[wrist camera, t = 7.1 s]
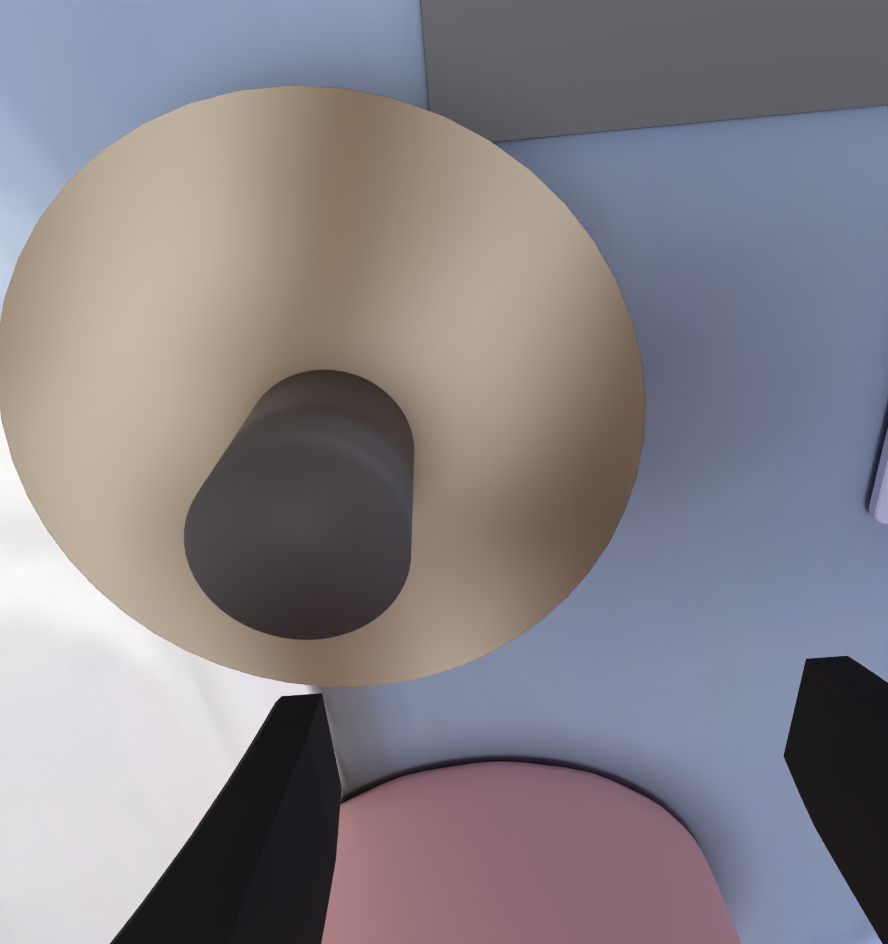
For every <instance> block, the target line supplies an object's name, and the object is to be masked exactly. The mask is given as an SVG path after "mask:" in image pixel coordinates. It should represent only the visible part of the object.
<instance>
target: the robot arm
mask: <svg viewBox="0 0 888 944" xmlns="http://www.w3.org/2000/svg"><path fill="white" fill-rule="evenodd" d="M869 513H870V515H871V516H872V517H873V518H874V519H875V520H876V521H878V522H880V523H881V524H888V429H887V433H886V437H885V441H884V445H883V450H882V454H881V458H880V462H879V467H878V471H877V475H876V479H875V483H874V488H873V492H872V496H871V500H870V505H869ZM784 758H785V761H786V763H787V765H788V768H789V770H790V772H791V775H792V777H793V779H794V782H795V784H796V787H797V789H798V791H799V794H800V796H801V798H802V800H803V802H804V805H805V807H806V809H807V811H808V813H809V815H810V818H811V820H812V822H813V824H814V826H815V828H816V830H817V832H818V833H819V835H820V837H821V839H822V841H823V842H824V844H825V846H826V848H827V849H828V851H829V853H830V854H831V856H832V858H833V860H834V861H835V863H836V865H837V867H838V868H839V870H840V872H841V873H842V875H843V877H844V879H845V880H846V882H847V884H848V886H849V887H850V889H851V891H852V892H853V894H854V896H855V897H856V899H857V901H858V903H859V904H860V906H861V908H862V909H863V911H864V913H865V914H866V916H867V918H868V920H869V921H870V923H871V925H872V926H873V928H874V930H875V931H876V933H877V935H878V937H879V938H880V940H881V942H882V943H883V944H888V683H887V682H886V681H884V680H883V679H881V678H880V677H879V676H877V675H876V674H874V673H873V672H871V671H870V670H868V669H867V668H865V667H864V666H862V665H861V664H859V663H858V662H856V661H855V660H853V659H852V658H850V657H848V656H839V657H825V658H811V659H806V661H805V666H804V670H803V674H802V679H801V683H800V687H799V692H798V696H797V700H796V705H795V709H794V713H793V718H792V722H791V726H790V731H789V735H788V739H787V744H786V748H785V752H784ZM340 800H341V783H340V778H339V773H338V769H337V764H336V759H335V754H334V749H333V744H332V739H331V735H330V730H329V725H328V720H327V715H326V710H325V706H324V701H323V696H322V693H321V694H307V695H293V696H281V697H280V698H279V699H278V700H277V701H276V702H275V704H274V706H273V708H272V709H271V711H270V713H269V714H268V716H267V718H266V720H265V721H264V723H263V725H262V726H261V728H260V730H259V731H258V733H257V735H256V736H255V738H254V740H253V741H252V743H251V745H250V746H249V748H248V749H247V751H246V753H245V754H244V756H243V757H242V759H241V761H240V762H239V764H238V765H237V767H236V769H235V770H234V772H233V773H232V775H231V776H230V778H229V780H228V781H227V783H226V784H225V786H224V787H223V789H222V790H221V792H220V793H219V795H218V796H217V798H216V799H215V801H214V802H213V804H212V805H211V807H210V808H209V810H208V811H207V813H206V814H205V816H204V817H203V819H202V820H201V822H200V823H199V825H198V826H197V828H196V829H195V830H194V832H193V833H192V835H191V836H190V838H189V839H188V841H187V842H186V843H185V845H184V846H183V848H182V849H181V850H180V852H179V853H178V854H177V856H176V857H175V858H174V860H173V861H172V863H171V864H170V865H169V867H168V868H167V869H166V871H165V872H164V873H163V875H162V876H161V878H160V879H159V880H158V882H157V883H156V884H155V886H154V887H153V888H152V890H151V891H150V893H149V894H148V895H147V897H146V898H145V899H144V901H143V902H142V903H141V905H140V906H139V907H138V909H137V910H136V911H135V912H134V914H133V915H132V916H131V918H130V919H129V920H128V921H127V923H126V924H125V925H124V927H123V928H122V929H121V930H120V932H119V933H118V934H117V935H116V937H115V938H114V939H113V940H112V942H111V943H110V944H321V943H322V937H323V932H324V926H325V921H326V915H327V909H328V903H329V898H330V892H331V886H332V880H333V874H334V869H335V863H336V853H337V841H338V829H339V814H340Z"/></svg>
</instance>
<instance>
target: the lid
mask: <svg viewBox="0 0 888 944" xmlns="http://www.w3.org/2000/svg"><path fill="white" fill-rule="evenodd" d="M0 411H1V419H2V424H3V428H4V432H5V435H6V439H7V442H8V446H9V450H10V453H11V457H12V461H13V463H14V465H15V468H16V470H17V472H18V475H19V477H20V480H21V482H22V484H23V487H24V489H25V491H26V494H27V496H28V498H29V500H30V501H31V503H32V505H33V507H34V508H35V510H36V512H37V514H38V515H39V517H40V519H41V520H42V522H43V524H44V526H45V527H46V529H47V531H48V532H49V533H50V535H51V536H52V537H53V539H54V540H55V541H56V543H57V544H58V545H59V547H60V548H61V549H62V551H63V552H64V553H65V555H66V556H67V557H68V559H69V560H70V561H71V562H72V563H73V565H74V566H75V567H76V568H77V569H78V570H79V571H80V572H81V573H82V574H83V575H84V576H85V577H86V578H87V579H88V580H89V581H90V583H91V584H92V585H93V586H94V587H95V588H96V589H97V590H98V591H100V592H101V593H102V594H103V595H104V596H105V597H107V598H108V599H109V600H110V601H111V602H113V603H114V604H115V605H116V606H117V607H118V608H120V609H121V610H122V611H123V612H124V613H126V614H127V615H129V616H130V617H131V618H133V619H134V620H136V621H137V622H139V623H140V624H142V625H143V626H145V627H146V628H147V629H149V630H150V631H152V632H153V633H155V634H157V635H158V636H160V637H162V638H164V639H166V640H168V641H169V642H171V643H173V644H175V645H177V646H179V647H180V648H182V649H184V650H186V651H188V652H190V653H193V654H195V655H197V656H200V657H202V658H205V659H207V660H209V661H212V662H214V663H216V664H219V665H222V666H225V667H228V668H231V669H234V670H238V671H241V672H244V673H247V674H250V675H254V676H258V677H263V678H268V679H273V680H278V681H282V682H287V683H296V684H305V685H314V686H336V687H359V686H370V685H382V684H391V683H397V682H402V681H407V680H412V679H418V678H423V677H426V676H430V675H433V674H436V673H440V672H443V671H446V670H450V669H453V668H456V667H458V666H461V665H463V664H466V663H468V662H470V661H473V660H475V659H478V658H480V657H482V656H485V655H487V654H489V653H490V652H492V651H494V650H496V649H498V648H500V647H501V646H503V645H505V644H507V643H509V642H510V641H512V640H514V639H516V638H517V637H518V636H520V635H521V634H523V633H524V632H526V631H527V630H528V629H530V628H531V627H533V626H534V625H535V624H537V623H538V622H540V621H541V620H542V619H544V618H545V617H546V616H547V615H548V614H549V613H550V612H551V611H552V610H554V609H555V608H556V607H557V606H558V605H559V604H560V603H561V602H562V601H564V600H565V599H566V598H567V597H568V596H569V595H570V593H571V592H572V591H573V590H574V589H575V588H576V587H577V585H578V584H579V583H580V582H581V581H582V580H583V579H584V577H585V576H586V575H587V574H588V573H589V572H590V570H591V569H592V567H593V566H594V564H595V563H596V561H597V560H598V558H599V557H600V555H601V554H602V552H603V551H604V549H605V548H606V546H607V545H608V543H609V542H610V540H611V538H612V536H613V534H614V532H615V530H616V528H617V525H618V523H619V521H620V519H621V517H622V515H623V513H624V511H625V509H626V506H627V503H628V500H629V497H630V494H631V491H632V488H633V485H634V482H635V479H636V476H637V471H638V465H639V460H640V455H641V450H642V445H643V437H644V419H645V392H644V381H643V369H642V361H641V357H640V352H639V348H638V344H637V339H636V335H635V331H634V327H633V322H632V320H631V317H630V315H629V312H628V309H627V307H626V304H625V302H624V299H623V297H622V294H621V291H620V289H619V286H618V284H617V281H616V280H615V278H614V276H613V274H612V272H611V271H610V269H609V267H608V265H607V264H606V262H605V260H604V258H603V256H602V255H601V253H600V251H599V249H598V248H597V246H596V244H595V242H594V241H593V240H592V238H591V237H590V236H589V234H588V233H587V232H586V231H585V229H584V228H583V227H582V225H581V224H580V223H579V221H578V220H577V219H576V218H575V216H574V215H573V214H572V212H571V211H570V210H569V208H568V207H567V206H566V205H565V204H564V203H563V202H562V201H561V200H560V199H559V198H558V197H557V196H556V195H555V194H554V193H553V192H552V191H551V190H550V189H549V188H548V187H547V186H546V185H545V184H544V183H543V182H542V181H541V180H540V179H539V178H538V177H537V176H536V175H535V174H534V173H533V172H532V171H530V170H529V169H528V168H526V167H525V166H524V165H522V164H521V163H520V162H518V161H517V160H515V159H514V158H513V157H511V156H510V155H509V154H507V153H506V152H505V151H503V150H502V149H500V148H499V147H498V146H496V145H495V144H494V143H492V142H491V141H489V140H487V139H485V138H484V137H482V136H480V135H478V134H476V133H474V132H472V131H470V130H469V129H467V128H465V127H463V126H461V125H459V124H457V123H455V122H454V121H452V120H450V119H448V118H446V117H444V116H441V115H438V114H436V113H433V112H430V111H427V110H425V109H422V108H419V107H416V106H414V105H411V104H408V103H405V102H403V101H400V100H397V99H393V98H388V97H383V96H379V95H374V94H369V93H364V92H359V91H354V90H349V89H344V88H328V87H309V86H281V87H271V88H261V89H251V90H240V91H236V92H232V93H228V94H224V95H220V96H216V97H213V98H209V99H205V100H201V101H197V102H193V103H189V104H187V105H185V106H183V107H180V108H178V109H176V110H173V111H171V112H169V113H167V114H164V115H162V116H160V117H157V118H155V119H153V120H151V121H148V122H146V123H144V124H142V125H141V126H139V127H137V128H136V129H134V130H133V131H131V132H130V133H128V134H127V135H125V136H124V137H122V138H121V139H119V140H117V141H116V142H114V143H113V144H111V145H110V146H108V147H107V148H105V149H104V150H102V151H101V152H100V153H99V154H98V155H97V156H96V157H95V158H94V159H92V160H91V161H90V162H89V163H88V164H87V165H86V166H85V167H84V168H83V169H82V170H80V171H79V172H78V173H77V174H76V175H75V176H74V177H73V178H72V179H71V180H70V181H68V183H67V184H66V185H65V186H64V188H63V189H62V190H61V192H60V193H59V194H58V195H57V197H56V198H55V199H54V201H53V202H52V203H51V204H50V206H49V207H48V208H47V209H46V211H45V212H44V213H43V215H42V216H41V217H40V219H39V220H38V222H37V224H36V226H35V228H34V230H33V232H32V233H31V235H30V237H29V239H28V241H27V243H26V245H25V246H24V248H23V250H22V252H21V254H20V256H19V258H18V261H17V264H16V266H15V269H14V272H13V275H12V278H11V281H10V284H9V287H8V290H7V293H6V296H5V299H4V304H3V310H2V316H1V322H0Z"/></svg>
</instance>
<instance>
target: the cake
mask: <svg viewBox="0 0 888 944" xmlns="http://www.w3.org/2000/svg"><path fill="white" fill-rule="evenodd" d="M321 944H741V942H740V940H739V937H738V935H737V932H736V930H735V927H734V925H733V922H732V920H731V917H730V915H729V912H728V910H727V907H726V905H725V902H724V900H723V897H722V895H721V893H720V890H719V888H718V885H717V883H716V881H715V878H714V876H713V874H712V872H711V869H710V867H709V865H708V863H707V860H706V858H705V856H704V854H703V852H702V850H701V848H700V847H699V845H698V844H697V842H696V841H695V839H694V838H693V837H692V836H691V834H690V833H689V832H688V831H687V830H686V829H685V828H684V826H683V825H682V824H680V823H679V822H678V821H677V820H676V819H675V818H674V817H673V816H672V815H670V814H669V813H668V812H667V811H666V810H665V809H664V808H663V807H661V806H660V805H658V804H657V803H655V802H654V801H652V800H650V799H649V798H647V797H645V796H643V795H641V794H639V793H637V792H635V791H633V790H631V789H629V788H627V787H625V786H623V785H621V784H619V783H617V782H614V781H612V780H610V779H607V778H605V777H602V776H599V775H596V774H594V773H591V772H586V771H581V770H576V769H572V768H565V767H558V766H550V765H542V764H533V763H524V762H505V761H494V762H482V763H471V764H465V765H458V766H451V767H445V768H439V769H433V770H427V771H422V772H418V773H414V774H410V775H405V776H402V777H399V778H396V779H394V780H391V781H389V782H386V783H383V784H381V785H379V786H377V787H375V788H372V789H370V790H368V791H366V792H364V793H362V794H360V795H358V796H356V797H354V798H352V799H350V800H348V801H346V802H344V803H342V804H340V814H339V829H338V841H337V853H336V863H335V869H334V874H333V880H332V886H331V892H330V898H329V903H328V909H327V915H326V921H325V926H324V932H323V937H322V943H321Z"/></svg>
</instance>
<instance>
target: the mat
mask: <svg viewBox="0 0 888 944" xmlns="http://www.w3.org/2000/svg"><path fill="white" fill-rule="evenodd" d="M420 2H421V14H422V26H423V38H424V50H425V62H426V75H427V87H428V99H429V111H430V112H433V113H436V114H438V115H441V116H444V117H446V118H448V119H450V120H452V121H454V122H455V123H457V124H459V125H461V126H463V127H465V128H467V129H469V130H470V131H472V132H474V133H476V134H478V135H480V136H482V137H484V138H485V139H487V140H489V141H491V142H496V141H507V140H518V139H528V138H539V137H550V136H560V135H571V134H581V133H592V132H603V131H613V130H624V129H635V128H645V127H656V126H666V125H677V124H688V123H698V122H709V121H720V120H730V119H741V118H752V117H762V116H773V115H783V114H794V113H805V112H815V111H826V110H837V109H847V108H858V107H868V106H879V105H888V0H420Z"/></svg>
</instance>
